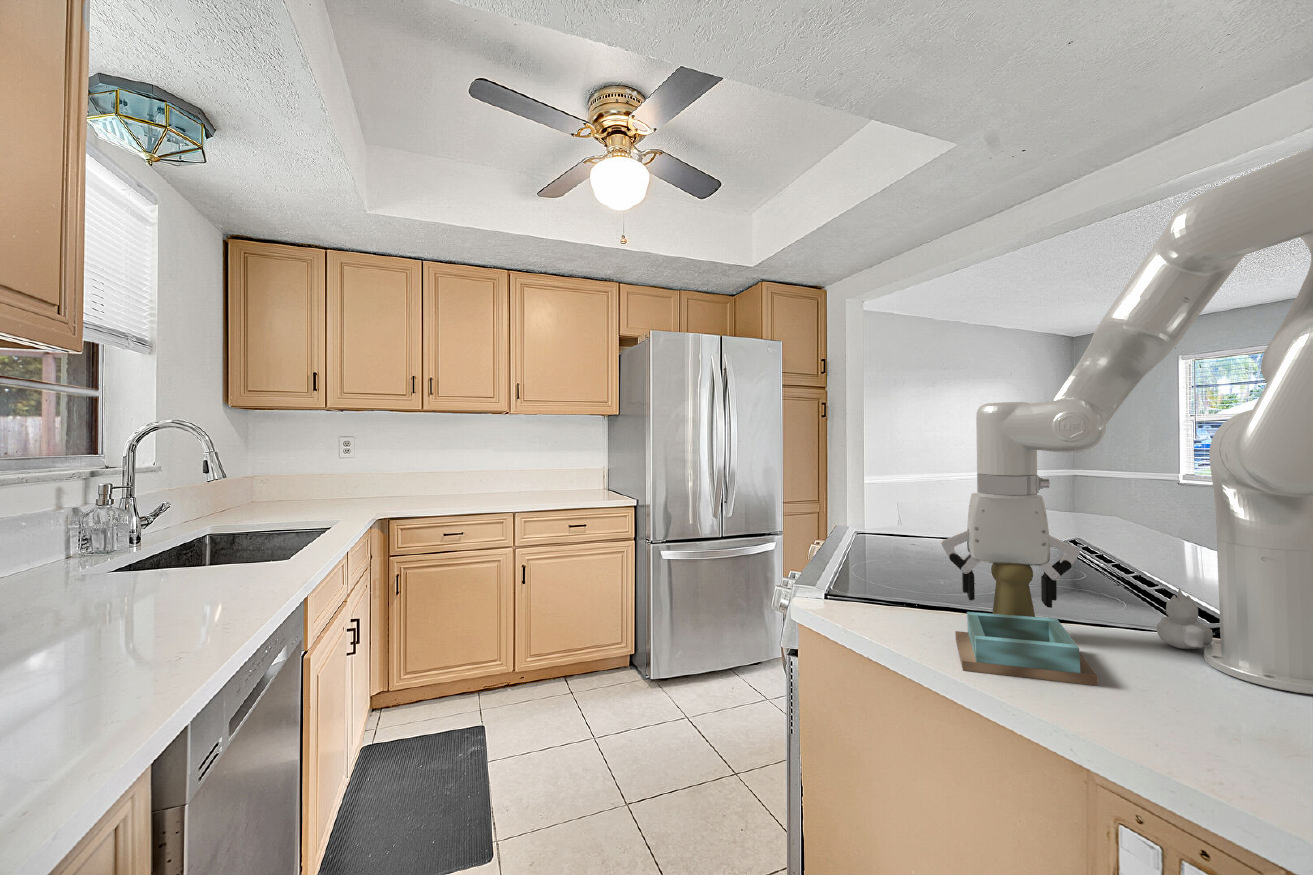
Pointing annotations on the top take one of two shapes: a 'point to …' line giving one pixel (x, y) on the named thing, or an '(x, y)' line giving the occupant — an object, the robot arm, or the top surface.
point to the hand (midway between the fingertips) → (1007, 601)
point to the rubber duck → (1183, 624)
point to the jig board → (1022, 648)
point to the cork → (1012, 589)
